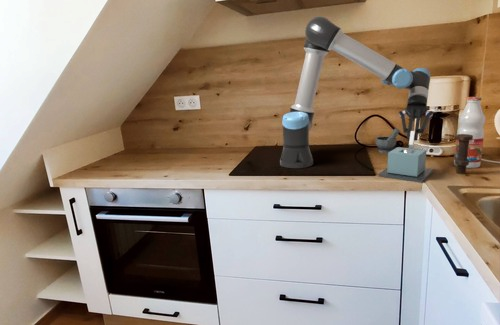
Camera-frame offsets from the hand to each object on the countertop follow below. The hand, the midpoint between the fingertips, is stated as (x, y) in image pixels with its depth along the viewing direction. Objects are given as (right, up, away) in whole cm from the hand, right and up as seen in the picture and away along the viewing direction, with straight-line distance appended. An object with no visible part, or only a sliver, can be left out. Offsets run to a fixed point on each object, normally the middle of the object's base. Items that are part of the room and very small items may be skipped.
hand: (411, 146), depth 137 cm
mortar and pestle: (+5, -1, +36) cm, 37 cm away
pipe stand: (-2, -11, 0) cm, 11 cm away
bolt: (+18, -11, -3) cm, 21 cm away
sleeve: (-2, -10, 0) cm, 10 cm away
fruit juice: (+26, -8, +7) cm, 28 cm away
